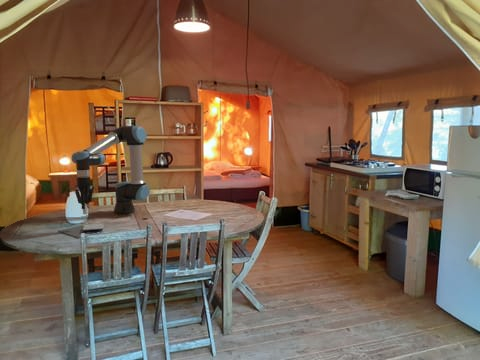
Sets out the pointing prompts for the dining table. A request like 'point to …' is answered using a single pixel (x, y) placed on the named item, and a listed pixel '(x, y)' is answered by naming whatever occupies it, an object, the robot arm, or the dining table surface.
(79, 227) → the rubber mat
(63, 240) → the dining table surface
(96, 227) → the ink box
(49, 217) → the dining table surface
